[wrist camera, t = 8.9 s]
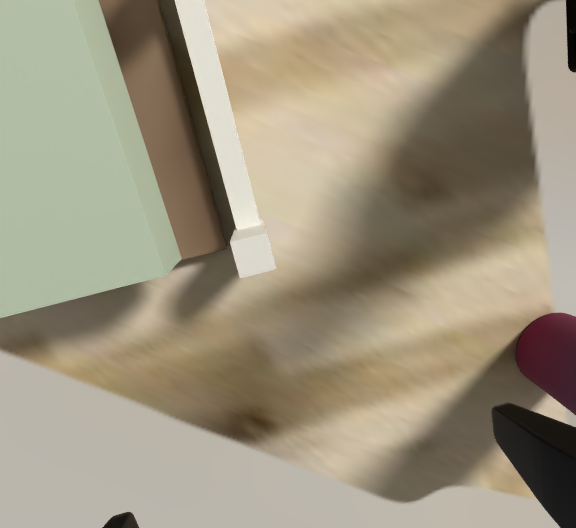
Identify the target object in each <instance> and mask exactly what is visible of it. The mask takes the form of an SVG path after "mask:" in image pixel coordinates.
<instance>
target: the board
mask: <svg viewBox="0 0 576 528" xmlns="http://www.w3.org/2000/svg"><path fill="white" fill-rule="evenodd" d="M181 259H182V258H181V255H180V252H179V249H178V246H177V242H176V239H175V236H174V233H173V230H172V227H171V224H170V221H169V218H168V215H167V211H166V208H165V205H164V202H163V199H162V196H161V193H160V190H159V187H158V184H157V180H156V177H155V174H154V171H153V168H152V165H151V162H150V159H149V156H148V152H147V149H146V146H145V143H144V140H143V137H142V134H141V131H140V128H139V125H138V121H137V118H136V115H135V112H134V109H133V106H132V103H131V100H130V97H129V94H128V90H127V87H126V84H125V81H124V78H123V75H122V72H121V69H120V66H119V62H118V59H117V56H116V53H115V50H114V47H113V44H112V41H111V38H110V35H109V31H108V28H107V25H106V22H105V19H104V16H103V13H102V10H101V7H100V4H99V0H0V318H3V317H7V316H11V315H14V314H18V313H22V312H26V311H30V310H34V309H38V308H42V307H46V306H50V305H53V304H57V303H61V302H65V301H69V300H73V299H77V298H81V297H85V296H89V295H92V294H96V293H100V292H104V291H108V290H112V289H116V288H120V287H124V286H128V285H131V284H135V283H139V282H143V281H147V280H151V279H155V278H159V277H163V276H166V275H167V274H168V273H169V272H170V271H171V270H172V269H173V268H174V266H175V265H176V264H177V263H178V262H179V261H180V260H181Z"/></svg>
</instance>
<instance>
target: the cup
mask: <svg viewBox="0 0 576 528" xmlns="http://www.w3.org/2000/svg"><path fill="white" fill-rule="evenodd" d="M516 361H517V365H518V367H519V369H520V371H521V372H522V373H523V374H524V375H525V376H526V377H528V378H529V379H530V380H531V381H533V382H534V383H535V384H536V385H538V386H539V387H540V388H542V389H543V390H544V391H545V392H547V393H548V394H549V395H551V396H552V397H553V398H554V399H556V400H557V401H558V402H559V403H561V404H562V405H563V406H565V407H566V408H567V409H568V410H570V411H571V412H572V413H574V414H575V415H576V317H575V316H572V315H569V314H565V313H551V314H547V315H544V316H542V317H540V318H538V319H537V320H535V321H534V322H532V323H531V324H530V325H529V326H528V327H527V328H526V330H525V331H524V332H523V334H522V335H521V337H520V339H519V341H518V344H517V349H516Z"/></svg>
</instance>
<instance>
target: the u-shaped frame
mask: <svg viewBox="0 0 576 528" xmlns="http://www.w3.org/2000/svg"><path fill="white" fill-rule="evenodd" d="M174 1H175V4H176V8H177V11H178V15H179V19H180V22H181V26H182V30H183V33H184V37H185V41H186V45H187V48H188V52H189V56H190V59H191V63H192V67H193V70H194V74H195V78H196V81H197V85H198V89H199V93H200V96H201V100H202V104H203V107H204V111H205V115H206V118H207V122H208V126H209V129H210V133H211V137H212V141H213V144H214V148H215V152H216V155H217V159H218V163H219V166H220V170H221V174H222V177H223V181H224V185H225V189H226V192H227V196H228V200H229V203H230V207H231V211H232V214H233V218H234V222H235V225H236V226H235V229H234V232H233V235H232V237H231V240H230V244H231V248H232V252H233V255H234V259H235V262H236V266H237V270H238V273H239V277H240V278H243V277H247V276H251V275H255V274H259V273H263V272H267V271H271V270H274V269H276V265H275V261H274V257H273V253H272V249H271V245H270V241H269V237H268V233H267V231H266V228H265V225H264V223H263V220H262V219H259V215H258V211H257V207H256V204H255V200H254V196H253V192H252V188H251V184H250V180H249V176H248V172H247V168H246V164H245V160H244V156H243V152H242V148H241V144H240V140H239V136H238V132H237V128H236V124H235V120H234V116H233V113H232V109H231V105H230V101H229V97H228V93H227V89H226V85H225V81H224V77H223V73H222V69H221V65H220V61H219V57H218V53H217V49H216V45H215V41H214V37H213V33H212V29H211V25H210V21H209V18H208V14H207V10H206V6H205V2H204V0H174Z"/></svg>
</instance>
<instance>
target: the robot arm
mask: <svg viewBox="0 0 576 528" xmlns="http://www.w3.org/2000/svg"><path fill="white" fill-rule="evenodd" d="M566 14H567V43H568V44H567V46H568V67H569V69H570V71H572V72H576V0H566ZM492 422H493V431H494V436H495V439H496V441H497V443H498V445H499V446H500V448H501V449H502V450H503V452H504V453H505V455H506V456H507V457H508V459H509V460H510V462H511V463H512V464H513V466H514V467H515V469H516V470H517V471H518V473H519V474H520V476H521V477H522V478H523V480H524V481H525V483H526V484H527V485H528V487H529V488H530V489H531V491H532V492H533V494H534V495H535V496H536V498H537V499H538V500H539V502H540V503H541V504H542V506H543V507H544V508H545V510H546V511H547V512H548V513H549V514H550V516H551V517H552V518H553V519H554V520H555V522H556V523H557V524H558V525H559V526H560V528H576V427H573V426H571V425H568V424H565V423H563V422H560V421H557V420H555V419H552V418H549V417H546V416H544V415H541V414H538V413H536V412H533V411H530V410H528V409H525V408H522V407H520V406H517V405H514V404H511V403H504V404H500V405H497V406H494V407H493V408H492ZM103 528H139V527H138V524H137V522H136V520H135V517H134V515H133V514H132V513H131V512H126V513H122V514H119V515H115V516H113V517H112V518H111V519H110V520H109V521H108V522H107V523H106V524H105V525H104V527H103Z"/></svg>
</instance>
